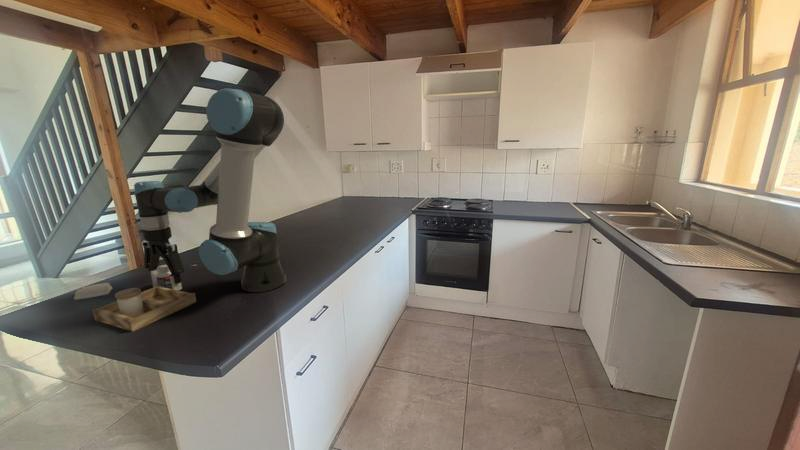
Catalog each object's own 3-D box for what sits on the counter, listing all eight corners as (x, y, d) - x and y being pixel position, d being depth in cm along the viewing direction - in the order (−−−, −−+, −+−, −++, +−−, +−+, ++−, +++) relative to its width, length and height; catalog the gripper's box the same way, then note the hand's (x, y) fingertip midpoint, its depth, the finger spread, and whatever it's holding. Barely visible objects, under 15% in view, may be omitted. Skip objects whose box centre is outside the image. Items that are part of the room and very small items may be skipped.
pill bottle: (167, 294, 108) (163, 269, 106) (155, 292, 109) (150, 268, 107) (181, 287, 113) (176, 264, 111) (168, 286, 114) (164, 263, 112)
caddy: (196, 304, 100) (195, 293, 99) (133, 334, 84) (130, 321, 83) (161, 295, 106) (159, 285, 105) (95, 322, 90) (92, 310, 89)
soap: (72, 301, 103) (70, 293, 103) (80, 293, 109) (78, 285, 109) (108, 295, 108) (106, 287, 107) (114, 288, 114) (112, 280, 113)
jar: (150, 313, 93) (145, 289, 91) (128, 323, 88) (122, 297, 86) (137, 310, 95) (132, 286, 93) (116, 319, 90) (110, 294, 88)
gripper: (190, 227, 105) (200, 289, 110) (147, 222, 113) (158, 281, 118) (167, 233, 98) (178, 299, 103) (122, 227, 106) (136, 289, 111)
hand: (168, 289), depth 111 cm, fingers open, 9 cm apart
